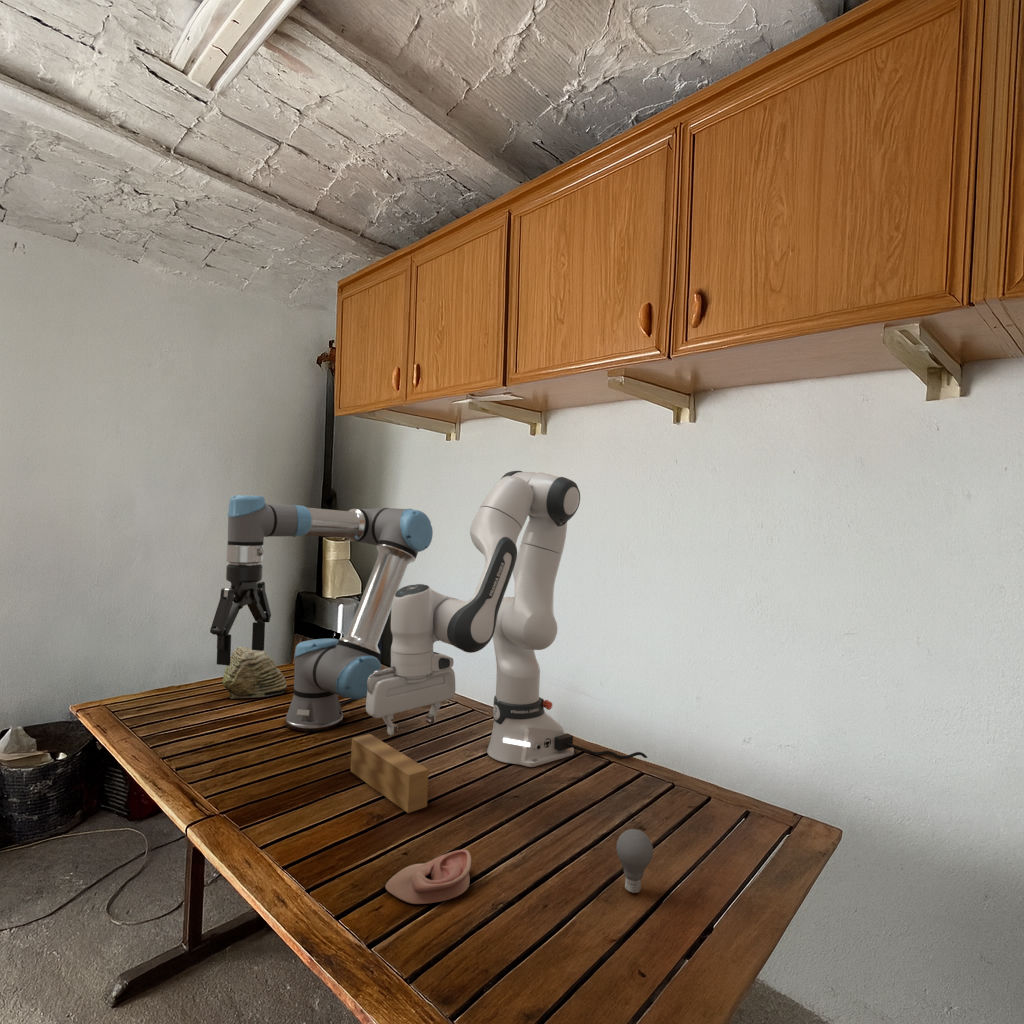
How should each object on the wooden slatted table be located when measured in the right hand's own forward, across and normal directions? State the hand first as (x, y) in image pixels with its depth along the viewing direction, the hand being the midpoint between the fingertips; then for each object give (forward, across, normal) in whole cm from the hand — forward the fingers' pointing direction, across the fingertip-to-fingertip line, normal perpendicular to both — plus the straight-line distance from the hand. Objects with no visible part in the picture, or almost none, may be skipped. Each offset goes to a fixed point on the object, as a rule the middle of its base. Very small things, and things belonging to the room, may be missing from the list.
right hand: (412, 728), depth 133 cm
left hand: (-12, -23, +35) cm, 43 cm away
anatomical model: (+15, -14, -26) cm, 33 cm away
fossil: (+15, -2, +88) cm, 89 cm away
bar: (+15, -1, +8) cm, 18 cm away
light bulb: (+16, +12, -48) cm, 53 cm away
